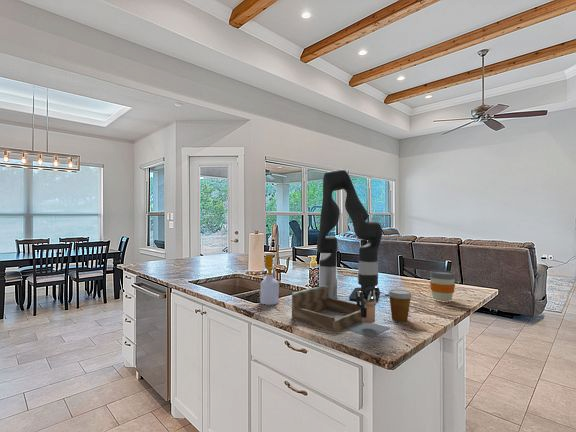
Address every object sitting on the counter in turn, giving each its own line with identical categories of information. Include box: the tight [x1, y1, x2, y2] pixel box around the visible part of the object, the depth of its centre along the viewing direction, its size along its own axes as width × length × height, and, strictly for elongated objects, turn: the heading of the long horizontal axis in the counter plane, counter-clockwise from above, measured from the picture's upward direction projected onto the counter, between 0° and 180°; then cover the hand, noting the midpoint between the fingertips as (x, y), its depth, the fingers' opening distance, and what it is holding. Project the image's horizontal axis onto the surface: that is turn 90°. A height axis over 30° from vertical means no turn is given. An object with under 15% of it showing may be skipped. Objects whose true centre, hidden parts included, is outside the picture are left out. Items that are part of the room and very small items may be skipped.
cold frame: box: [291, 285, 361, 333], centre depth 137 cm, size 24×23×11 cm
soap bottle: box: [259, 253, 280, 306], centre depth 160 cm, size 9×9×25 cm
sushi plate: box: [349, 287, 389, 301], centre depth 175 cm, size 29×30×4 cm
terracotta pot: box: [359, 295, 377, 324], centre depth 125 cm, size 6×6×11 cm
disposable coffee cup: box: [387, 288, 412, 323], centre depth 137 cm, size 10×10×12 cm
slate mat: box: [344, 321, 391, 338], centre depth 125 cm, size 14×12×1 cm
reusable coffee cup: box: [429, 269, 456, 301], centre depth 170 cm, size 13×13×15 cm
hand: (367, 315), depth 125 cm, fingers closed on terracotta pot, 5 cm apart
